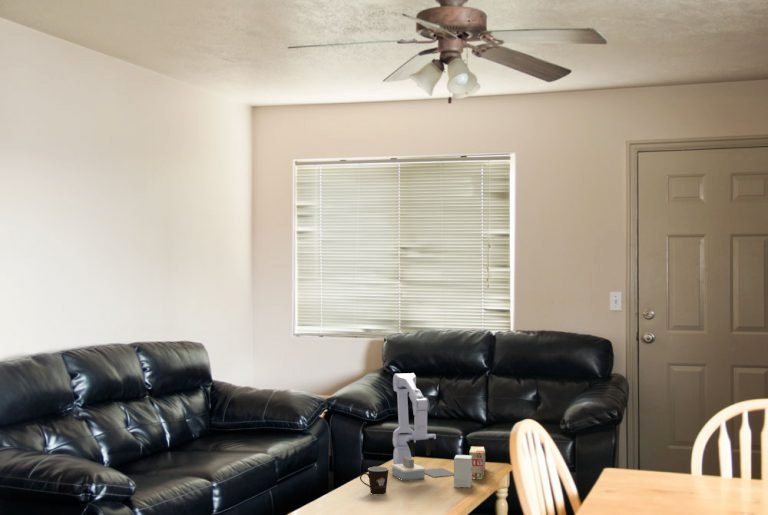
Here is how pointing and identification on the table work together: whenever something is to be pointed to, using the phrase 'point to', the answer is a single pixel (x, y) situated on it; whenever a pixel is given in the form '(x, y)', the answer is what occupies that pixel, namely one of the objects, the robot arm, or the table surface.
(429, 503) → the table surface
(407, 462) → the lid
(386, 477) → the coffee mug
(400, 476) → the box
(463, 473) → the supplement box
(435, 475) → the mat
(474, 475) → the stack of blocks
